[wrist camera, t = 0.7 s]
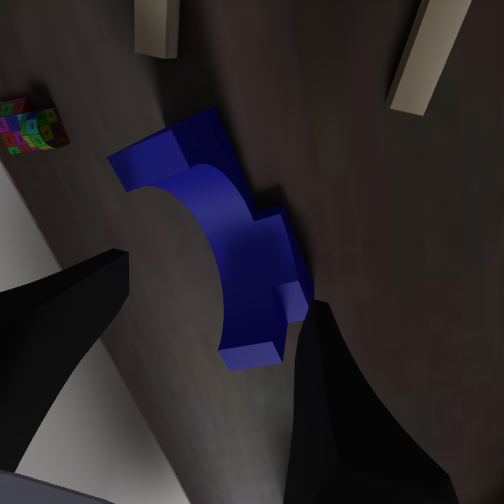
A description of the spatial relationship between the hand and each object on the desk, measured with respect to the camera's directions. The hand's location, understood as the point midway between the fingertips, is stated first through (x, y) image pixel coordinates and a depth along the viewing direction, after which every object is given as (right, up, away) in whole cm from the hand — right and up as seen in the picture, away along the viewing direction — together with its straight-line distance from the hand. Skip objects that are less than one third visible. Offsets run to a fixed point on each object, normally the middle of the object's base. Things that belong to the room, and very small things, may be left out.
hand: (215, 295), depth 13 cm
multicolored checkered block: (-11, +9, +7) cm, 16 cm away
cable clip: (+1, +4, +7) cm, 8 cm away
